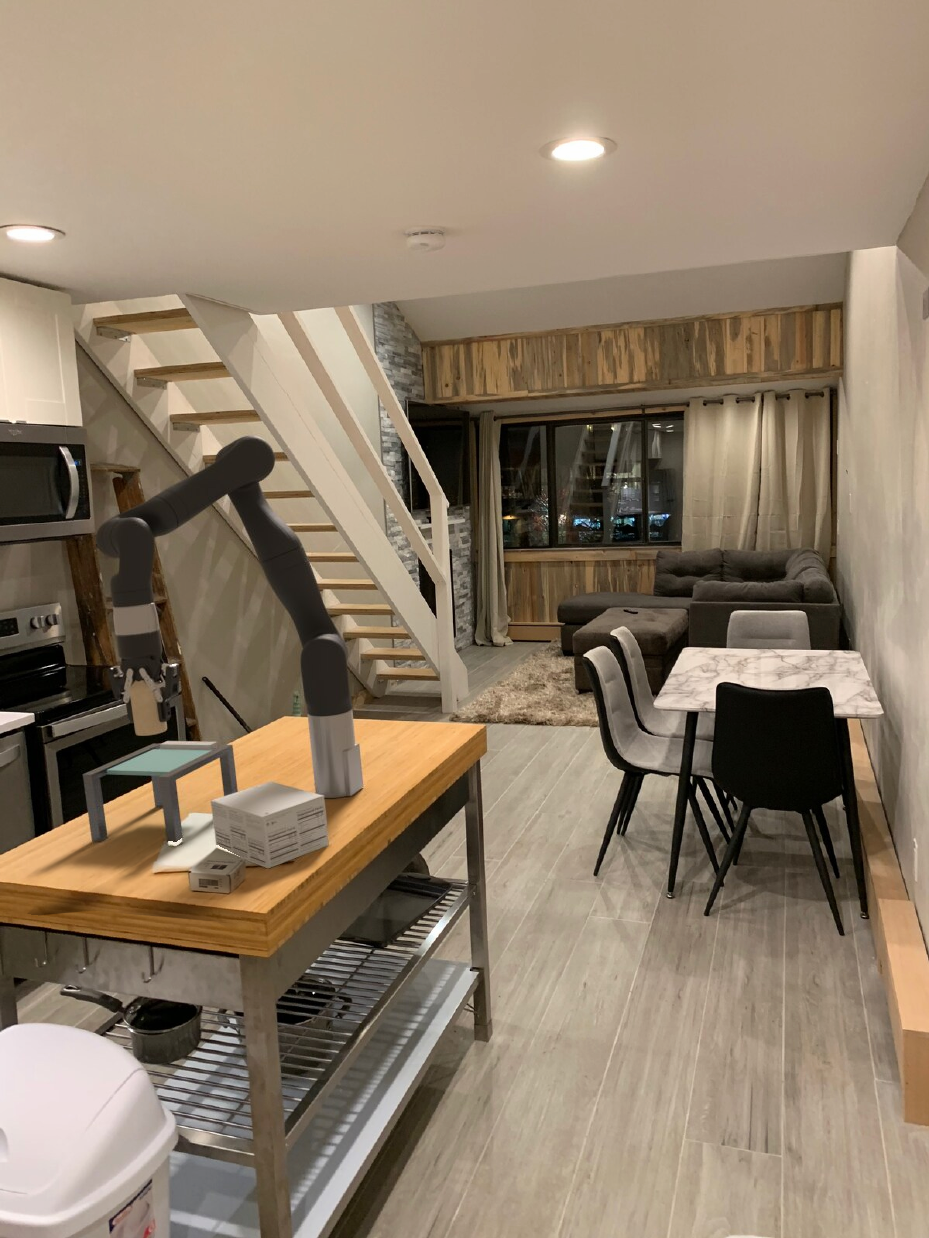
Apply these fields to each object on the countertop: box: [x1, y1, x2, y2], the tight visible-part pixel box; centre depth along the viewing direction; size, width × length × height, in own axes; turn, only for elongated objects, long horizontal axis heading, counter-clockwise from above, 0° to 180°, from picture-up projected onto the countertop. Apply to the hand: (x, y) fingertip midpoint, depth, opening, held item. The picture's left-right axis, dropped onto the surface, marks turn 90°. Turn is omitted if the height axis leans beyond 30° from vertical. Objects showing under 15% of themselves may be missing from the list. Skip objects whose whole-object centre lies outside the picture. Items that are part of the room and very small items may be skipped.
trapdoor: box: [107, 740, 219, 777], centre depth 182 cm, size 17×14×2 cm
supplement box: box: [210, 781, 330, 869], centre depth 165 cm, size 17×13×9 cm
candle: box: [129, 680, 168, 737], centre depth 168 cm, size 6×6×10 cm
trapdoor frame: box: [82, 742, 239, 843], centre depth 181 cm, size 21×19×13 cm
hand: (150, 721), depth 168 cm, fingers closed on candle, 5 cm apart
